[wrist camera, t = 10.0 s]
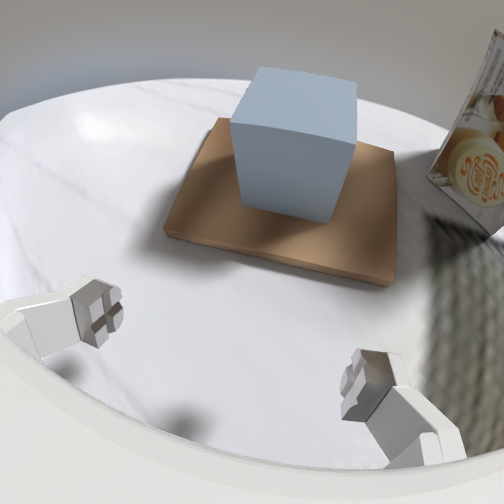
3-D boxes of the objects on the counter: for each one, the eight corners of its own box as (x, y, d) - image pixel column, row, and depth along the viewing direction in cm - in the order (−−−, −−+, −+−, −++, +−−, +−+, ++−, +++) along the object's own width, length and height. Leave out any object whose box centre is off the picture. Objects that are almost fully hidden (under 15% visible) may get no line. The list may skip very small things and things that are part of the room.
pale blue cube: (242, 205, 19) (229, 122, 12) (263, 145, 21) (260, 66, 14) (328, 224, 18) (356, 144, 11) (336, 160, 20) (356, 82, 13)
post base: (168, 236, 20) (131, 181, 13) (220, 126, 24) (209, 68, 18) (387, 287, 17) (436, 247, 11) (389, 160, 22) (414, 104, 15)
